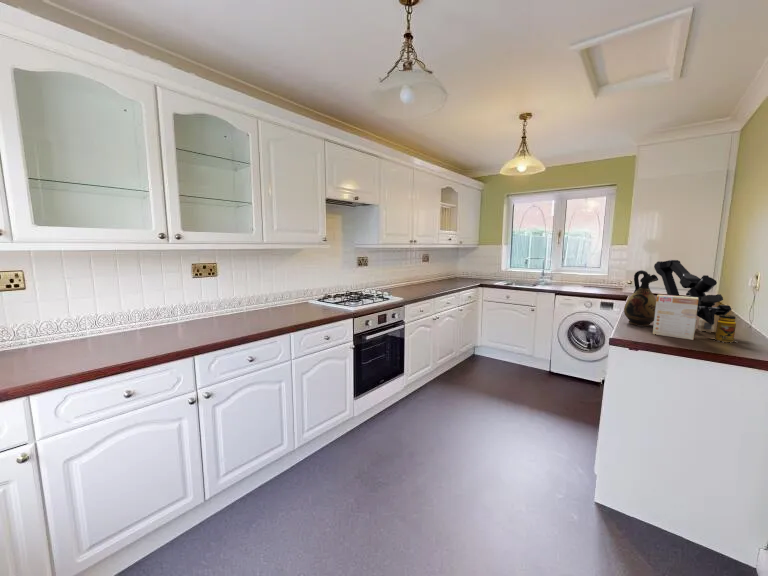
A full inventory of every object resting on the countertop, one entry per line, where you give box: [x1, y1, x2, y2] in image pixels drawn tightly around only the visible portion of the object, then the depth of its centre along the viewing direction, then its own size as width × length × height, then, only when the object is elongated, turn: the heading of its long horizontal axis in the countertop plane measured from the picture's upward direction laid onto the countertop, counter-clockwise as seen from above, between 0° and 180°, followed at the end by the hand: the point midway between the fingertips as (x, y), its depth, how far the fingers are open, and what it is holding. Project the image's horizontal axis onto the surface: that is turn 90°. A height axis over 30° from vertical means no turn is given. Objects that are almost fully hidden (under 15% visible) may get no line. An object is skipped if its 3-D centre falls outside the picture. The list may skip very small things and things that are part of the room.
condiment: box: [714, 314, 737, 344], centre depth 154 cm, size 7×8×12 cm
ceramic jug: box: [623, 269, 659, 327], centre depth 186 cm, size 17×15×30 cm
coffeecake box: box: [652, 294, 698, 341], centre depth 161 cm, size 15×7×20 cm, turn 47°
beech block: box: [697, 317, 716, 333], centre depth 173 cm, size 5×5×6 cm
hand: (712, 324), depth 161 cm, fingers closed
